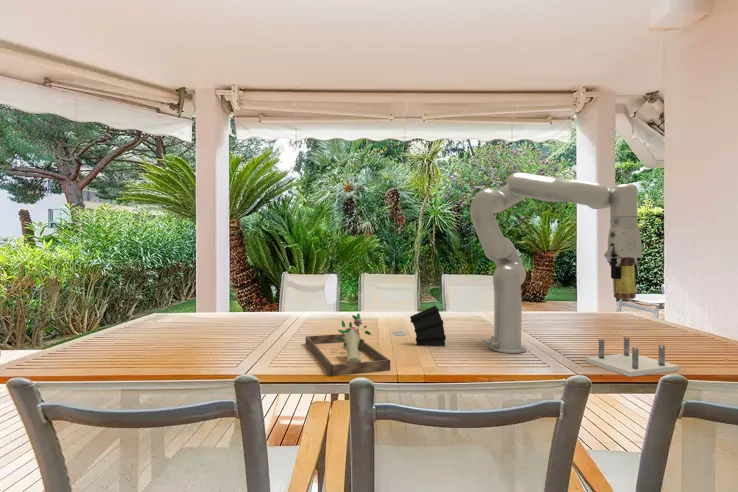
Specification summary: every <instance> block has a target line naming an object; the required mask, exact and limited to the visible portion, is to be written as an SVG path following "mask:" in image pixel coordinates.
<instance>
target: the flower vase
mask: <svg viewBox="0 0 738 492" xmlns="http://www.w3.org/2000/svg"><path fill="white" fill-rule="evenodd" d="M351 316H352V319H353V322H352V321H349V323H348V328H346V327H347V325H346V323H345V321H344V320H343V319H342V320H341V327H342V328H345V330H344V329H338V330H337V332H338V333H340V334H345V335H344V336H343V338H342V337H338V338H337V339H336V340H343V339H344V341H345V342H343V347H344V348H346V359H345V364H346V363H362V362H363V361H362V360H361V357H360V353H359V352H361V351H362V350H361V349H360V347H359V346H358V345H359V342H365V339H363V338H361V336H360V334H361V332H360V330H361V331H363V332H364V334H366V335H367V336H368V335H369V336H371V335H372V333H371V332H370V330H365V331H364V329H366V328H367V327H368V326H367V325H364V326H363V329H361V328H360V326H361V325H362V323H363V322H362V319H361V314H360V312H357V314H356V315H351ZM353 325H354V327H353ZM355 326H356V327H357V328H356V327H355ZM359 329H360V330H359Z"/></svg>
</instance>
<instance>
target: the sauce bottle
mask: <svg viewBox="0 0 738 492" xmlns="http://www.w3.org/2000/svg"><path fill="white" fill-rule="evenodd" d="M615 256H617V255H615ZM615 260H616V261H617V259H615ZM619 266H621V279H612V287H613V288H612V289H613V291H612V293H613V297H614V299H622V300H634V299H636V297H637V296H636V293H637V289H636V278H635V262H634V259H633V258H630V257H629V258H622V259H621V262H620V265H619Z"/></svg>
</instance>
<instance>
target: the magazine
mask: <svg viewBox="0 0 738 492" xmlns="http://www.w3.org/2000/svg"><path fill="white" fill-rule="evenodd" d="M409 318H410V323H411V324H412V325H413V327H414V333H415V336H416V337H415V343H416V346H423V347H424V346H427V347H428V346H430V347H445V346H446V340H447V337H446V334H445V328H444V320H443V319H442V316H441V314H440V310H439V307H437V305H436V304H435V305H433V306H431V307H429V308H426V309H424V310H422V311H420V312H417V313H415V314H412V315H411V316H409Z"/></svg>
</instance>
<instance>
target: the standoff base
mask: <svg viewBox="0 0 738 492" xmlns="http://www.w3.org/2000/svg"><path fill="white" fill-rule="evenodd" d="M631 349H632V350H631V352H630V337H628V336H624V337H623V353H618V354H611V355H610V354H609V355H605V339H601V338H600V339H598V355H597V356H589V357H585V363H587V364H590V365H593V366H596V367H599V368H602V369H605V370H609V371H611V372H613V373H616V374H620V375H623V376H626V377H629V378H631V377H639V376H648V375H655V374H663V373H672V372H679V365H677V364H673V363H669V362H666V346H665V345H658V359H655V358H651V357H647V356H644V355H639V348H638V347H632V348H631Z"/></svg>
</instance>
